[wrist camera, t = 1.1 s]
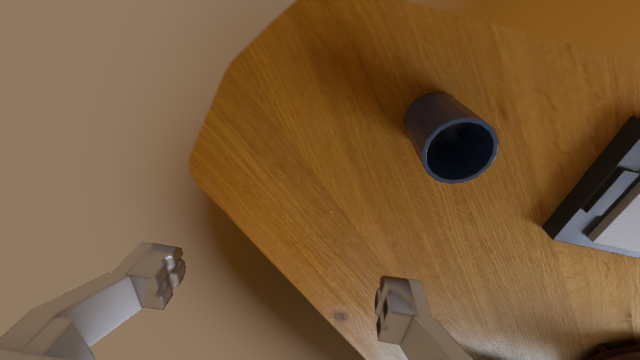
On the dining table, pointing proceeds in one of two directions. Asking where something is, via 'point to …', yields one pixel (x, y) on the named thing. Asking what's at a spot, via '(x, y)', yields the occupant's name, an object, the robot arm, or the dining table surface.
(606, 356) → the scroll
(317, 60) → the dining table surface
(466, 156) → the cup
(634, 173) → the scale
